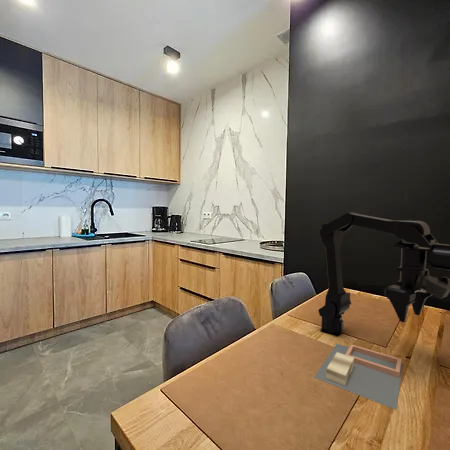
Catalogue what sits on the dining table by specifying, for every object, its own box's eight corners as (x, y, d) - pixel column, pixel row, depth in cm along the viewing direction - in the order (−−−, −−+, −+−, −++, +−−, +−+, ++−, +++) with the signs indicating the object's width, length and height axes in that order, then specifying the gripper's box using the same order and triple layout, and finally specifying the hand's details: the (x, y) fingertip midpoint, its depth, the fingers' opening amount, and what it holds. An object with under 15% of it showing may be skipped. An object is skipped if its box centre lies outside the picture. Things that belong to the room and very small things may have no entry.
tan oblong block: (345, 385, 63) (345, 375, 63) (326, 378, 66) (326, 368, 66) (354, 366, 71) (354, 357, 71) (336, 360, 74) (336, 352, 74)
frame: (344, 359, 75) (344, 355, 75) (350, 348, 81) (351, 344, 81) (399, 377, 67) (399, 372, 66) (401, 363, 73) (401, 359, 73)
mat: (313, 378, 67) (313, 377, 67) (336, 344, 84) (336, 343, 84) (396, 411, 56) (396, 409, 56) (403, 364, 73) (403, 363, 73)
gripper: (434, 275, 61) (430, 338, 62) (461, 266, 71) (458, 321, 72) (384, 266, 70) (381, 321, 71) (415, 259, 80) (412, 308, 81)
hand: (410, 318), depth 73 cm, fingers open, 9 cm apart
